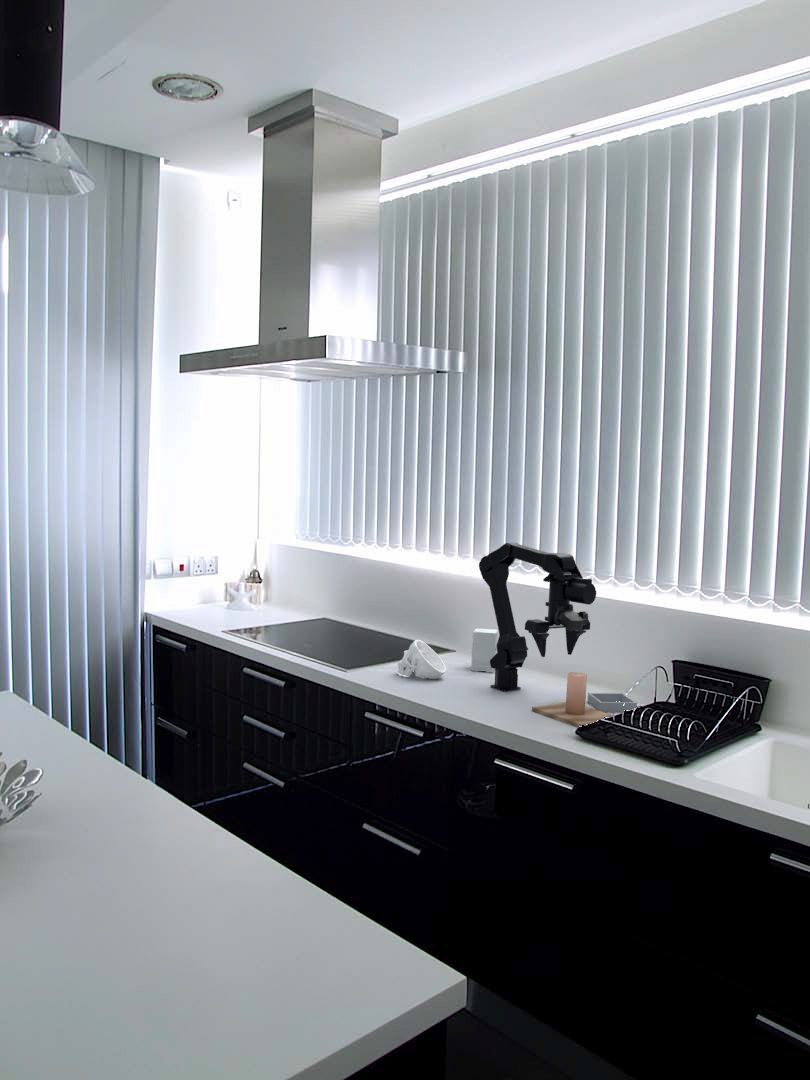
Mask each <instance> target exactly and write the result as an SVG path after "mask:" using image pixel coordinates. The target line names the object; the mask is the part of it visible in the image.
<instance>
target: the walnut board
mask: <svg viewBox="0 0 810 1080" xmlns="http://www.w3.org/2000/svg"><path fill="white" fill-rule="evenodd" d="M565 708H566V701H562V702H556V703H551V704H550V703H548V704H544V705H543V704H542V705H538V706H531V712H534V713H536V714H538V715H542V716H545V717H548V718H551V719H554V720H557V721H559V722H562V723H565V724H568V725H571V726H573V727H577V728H579V726H581V725H586V724H590V723H593V722H595V721H597V720H601V719H603V718H604V717H612V716H615V715H613V714H612V713H609V712H602V711H599V710H597V709H596V708H594V707H593V708H592V707H590V706H589V707H588V706H586V705H585V713H584V714H581V715H575V714H569V713H567V712H565Z"/></svg>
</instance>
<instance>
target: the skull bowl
mask: <svg viewBox="0 0 810 1080" xmlns="http://www.w3.org/2000/svg"><path fill="white" fill-rule="evenodd" d="M397 667H398V670H397V672H398V673H400V674H402V675H406V676H409V677H411V676H412V674H415V676H416V677H418V678H424V679H427V678H429V679H428V680H437V679H439V678H441V677H442V676H443V675H445V673H446V672H447V667H446V664H445V662H444V661H443V660H442V658H441V657H440V655H439V654H437V652H436V651H435V650H434V649H432V648H431V647H430V646H429V645H428V644H427V643H426V642H424V641H422V640H420V639H416V640H414V641H413V642H412V643H411V644H410V645H409V648H408V650H407V649H406V650H404V651H403V657H402V658H401V659H400V660H399V661H398V662H397ZM413 671H414V673H412V672H413Z"/></svg>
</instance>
